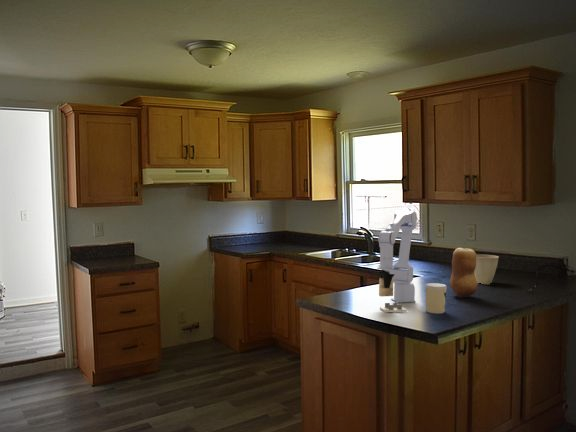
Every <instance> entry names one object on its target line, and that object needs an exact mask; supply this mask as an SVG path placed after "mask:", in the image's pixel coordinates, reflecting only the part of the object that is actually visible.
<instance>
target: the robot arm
mask: <svg viewBox="0 0 576 432" xmlns="http://www.w3.org/2000/svg"><path fill="white" fill-rule="evenodd" d="M417 214H418V213H417V212H416V211H415V210H413V211H412V210H409V211H408V210H398V209H397V210H396V211H395V212H394V217H393V222H390V223H389V224H388V225H387V227H386V228H385V229H384V230H382V231H380V232H379V233H378V237H377V240H378V244H379V245H378V247H379V264H378V267H377V269H378V270H379V271H378V275H379V277H380V278H383V280H384V287H385V288H390V284H391V281H392V278H393V297H391V298H390V300H392V301H393V302H394V303H396V302H398V303H414V302H416V300H415V299H416V298H415V295H416V289H415V288H416V287H415V284H414V282H413V280H414V268H413V266H412V265H411V264H410V263H409V258H410V253H411V252H410V250H411V244H412V243H411V242H412V237H413V235H412V234H413V230H415V229H416V228H417V224H418V223H417V222H418V216H417ZM400 231H401V237H400V244H399V245H400V246H399V252H398V260H397V262H396V263H394V245H395V243H396V239H397V236H398V234H399V233H400Z"/></svg>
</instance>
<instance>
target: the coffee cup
mask: <svg viewBox="0 0 576 432" xmlns="http://www.w3.org/2000/svg"><path fill="white" fill-rule="evenodd" d="M424 288H425V303H426V304H425V307H426V308H425V309H426V312H427V313H430V314H444V313H445V311H446V309H445V308H446V301H447V300H446V299H447V290H448V289H447V288H448V286H447V285H446V284H444V283H440V282H439V283H438V282H437V283H436V282H431V283H430V282H429V283H426V284H425V286H424Z"/></svg>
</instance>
